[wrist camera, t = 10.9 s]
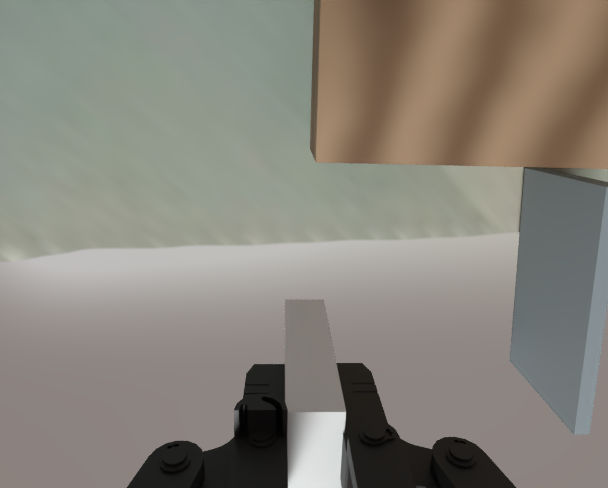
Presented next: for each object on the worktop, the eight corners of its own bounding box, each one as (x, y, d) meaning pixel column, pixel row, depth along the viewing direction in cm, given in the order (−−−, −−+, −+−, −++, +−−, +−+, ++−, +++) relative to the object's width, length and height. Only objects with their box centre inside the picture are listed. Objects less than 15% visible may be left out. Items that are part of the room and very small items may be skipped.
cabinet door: (524, 167, 40) (606, 187, 30) (555, 166, 40) (648, 184, 30) (509, 360, 46) (574, 434, 35) (536, 359, 46) (609, 432, 35)
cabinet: (310, 148, 40) (315, 162, 28) (314, -29, 36) (323, -96, 24) (530, 153, 40) (624, 169, 29) (558, -21, 36) (680, -83, 25)
